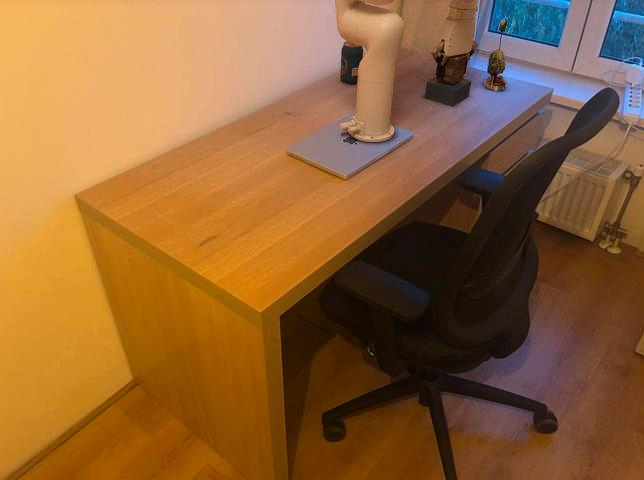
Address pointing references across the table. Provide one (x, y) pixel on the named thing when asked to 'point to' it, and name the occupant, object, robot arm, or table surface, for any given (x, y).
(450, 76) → the box
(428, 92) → the block
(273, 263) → the table surface
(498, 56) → the plant with pod
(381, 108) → the robot arm
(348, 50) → the soda can
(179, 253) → the table surface
